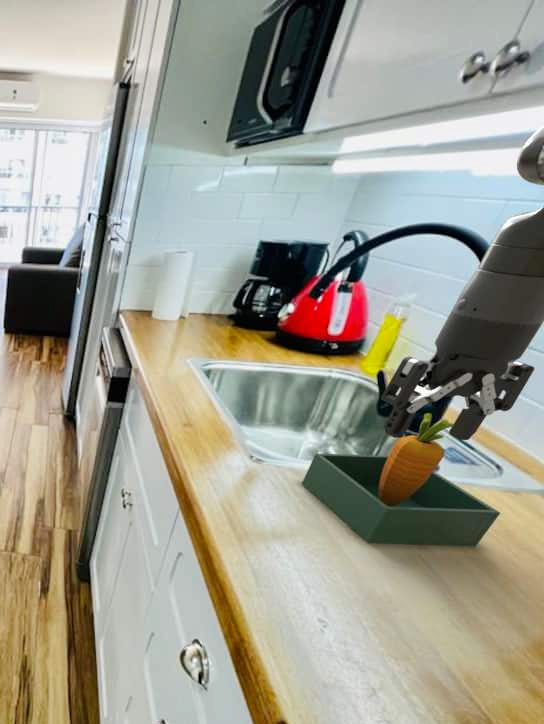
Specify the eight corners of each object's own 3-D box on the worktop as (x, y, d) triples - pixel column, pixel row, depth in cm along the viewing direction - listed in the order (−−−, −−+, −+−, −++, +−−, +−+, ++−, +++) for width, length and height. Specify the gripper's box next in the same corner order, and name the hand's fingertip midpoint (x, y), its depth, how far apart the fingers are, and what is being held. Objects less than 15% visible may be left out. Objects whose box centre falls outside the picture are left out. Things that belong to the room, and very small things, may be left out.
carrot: (365, 495, 72) (415, 404, 65) (407, 509, 69) (465, 416, 62) (359, 508, 69) (411, 415, 62) (403, 524, 66) (464, 428, 59)
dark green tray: (392, 486, 76) (409, 456, 73) (475, 546, 63) (501, 512, 61) (301, 483, 76) (315, 453, 73) (367, 542, 64) (387, 508, 61)
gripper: (463, 320, 52) (392, 448, 60) (597, 323, 52) (508, 452, 60) (408, 304, 59) (350, 422, 67) (526, 307, 59) (454, 425, 67)
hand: (425, 436), depth 64 cm, fingers open, 8 cm apart
